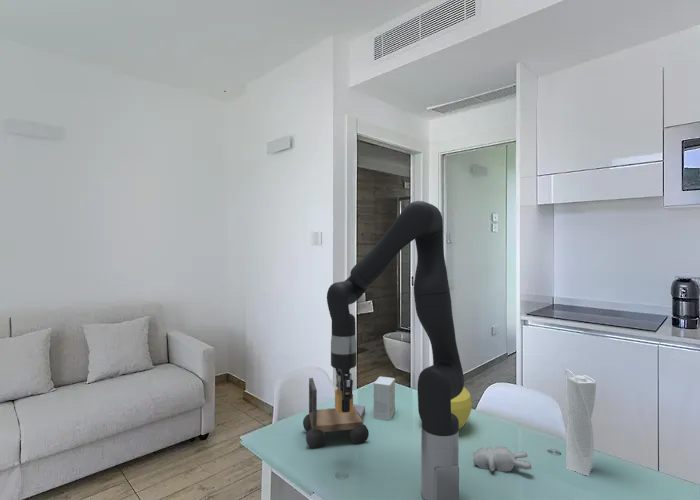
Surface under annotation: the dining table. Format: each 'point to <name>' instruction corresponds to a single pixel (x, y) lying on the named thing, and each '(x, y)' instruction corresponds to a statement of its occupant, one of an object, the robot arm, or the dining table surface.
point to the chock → (339, 402)
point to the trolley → (331, 422)
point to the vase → (462, 406)
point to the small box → (384, 398)
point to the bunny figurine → (499, 459)
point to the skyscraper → (580, 423)
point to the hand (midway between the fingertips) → (343, 407)
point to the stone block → (360, 410)
